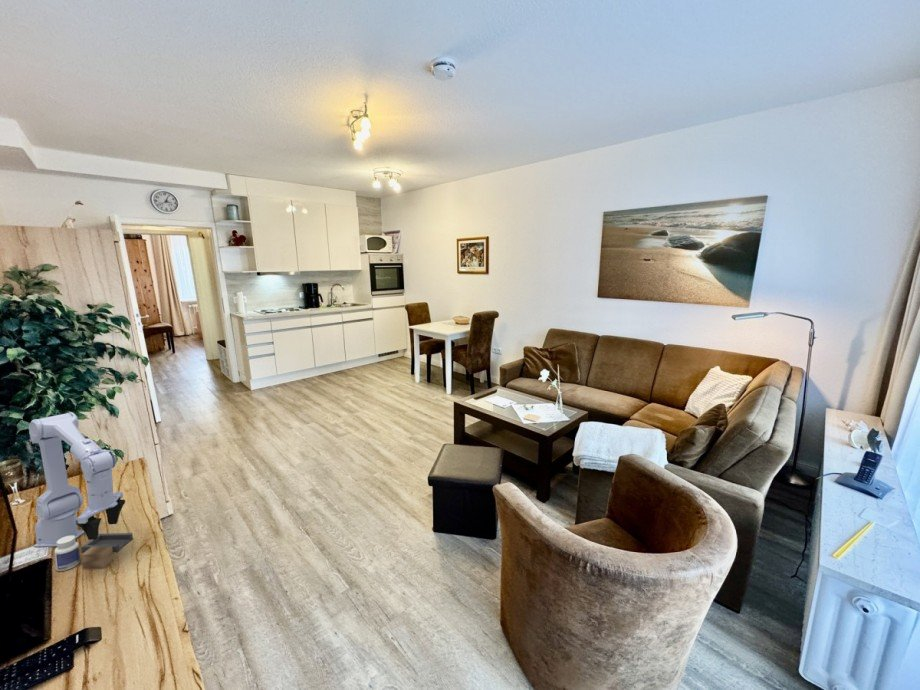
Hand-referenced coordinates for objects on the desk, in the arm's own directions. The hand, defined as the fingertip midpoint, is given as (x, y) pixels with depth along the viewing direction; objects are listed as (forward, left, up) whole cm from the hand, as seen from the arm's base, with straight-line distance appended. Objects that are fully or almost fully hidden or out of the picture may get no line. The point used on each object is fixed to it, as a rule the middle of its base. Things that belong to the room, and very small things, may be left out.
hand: (103, 531), depth 117 cm
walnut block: (-1, -2, -10) cm, 11 cm away
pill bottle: (-9, -2, -11) cm, 14 cm away
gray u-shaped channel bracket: (-5, +7, -10) cm, 14 cm away
